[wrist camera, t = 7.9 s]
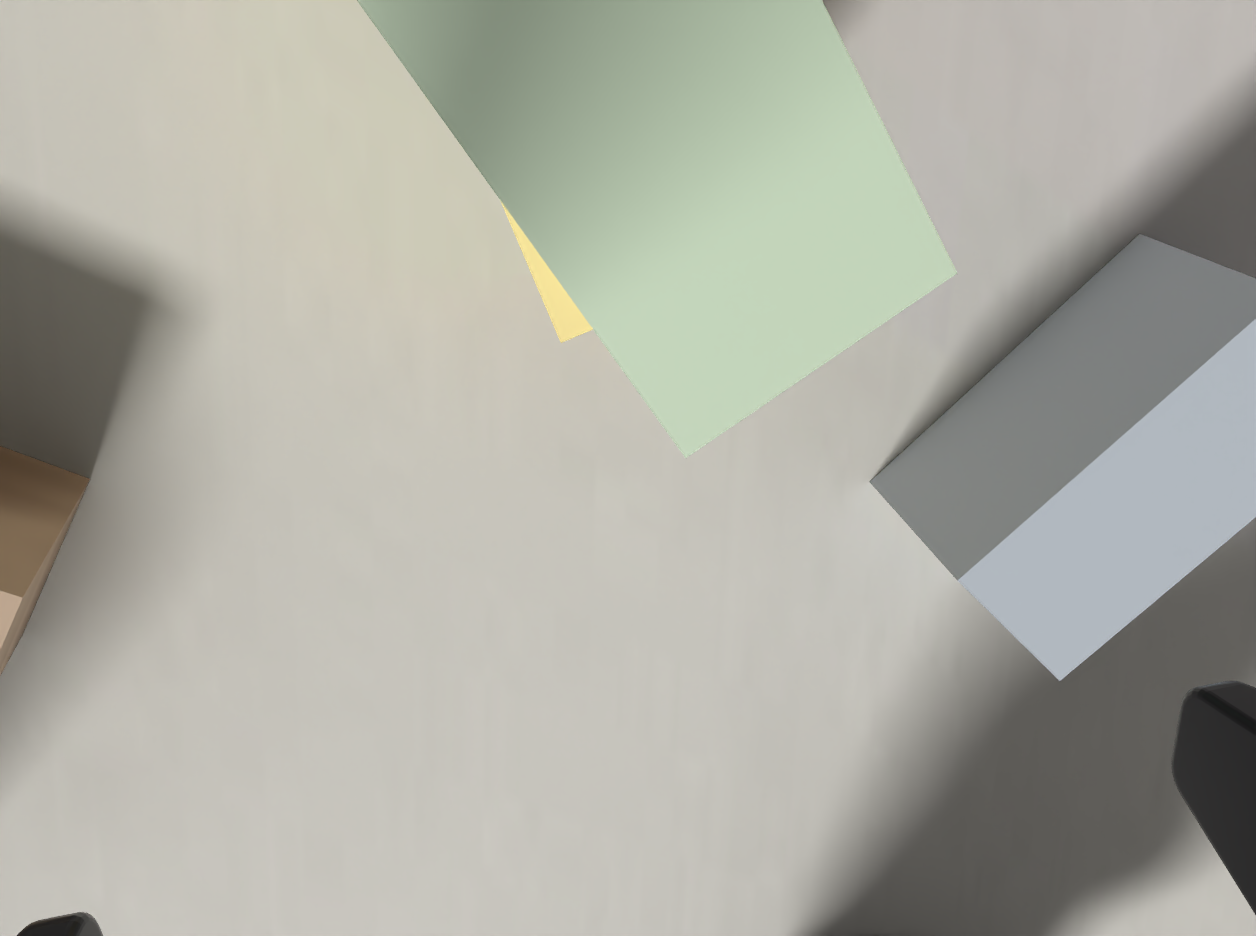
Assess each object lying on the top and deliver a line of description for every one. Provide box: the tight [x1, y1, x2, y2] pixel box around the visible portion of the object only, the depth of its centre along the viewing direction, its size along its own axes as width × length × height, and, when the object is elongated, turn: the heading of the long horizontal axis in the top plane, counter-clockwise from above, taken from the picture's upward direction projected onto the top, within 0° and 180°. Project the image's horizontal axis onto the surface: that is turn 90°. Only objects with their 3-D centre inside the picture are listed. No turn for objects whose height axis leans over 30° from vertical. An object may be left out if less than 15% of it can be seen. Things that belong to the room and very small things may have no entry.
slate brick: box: [870, 234, 1256, 681], centre depth 20 cm, size 7×4×4 cm, turn 134°
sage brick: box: [357, 0, 957, 458], centre depth 12 cm, size 7×4×4 cm, turn 33°
